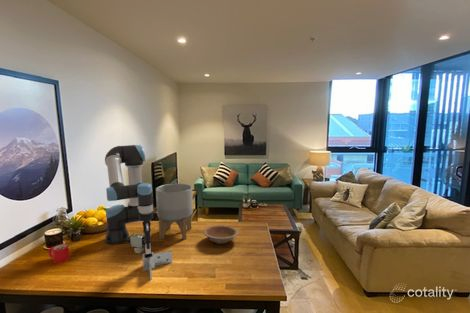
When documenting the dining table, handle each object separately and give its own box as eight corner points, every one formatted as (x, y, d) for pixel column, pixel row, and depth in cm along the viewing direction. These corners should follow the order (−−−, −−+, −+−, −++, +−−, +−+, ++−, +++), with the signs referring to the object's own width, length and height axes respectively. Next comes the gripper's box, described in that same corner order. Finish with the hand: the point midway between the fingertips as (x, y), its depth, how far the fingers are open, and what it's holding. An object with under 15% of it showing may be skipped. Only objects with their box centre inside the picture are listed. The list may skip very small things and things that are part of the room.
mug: (53, 255, 160) (52, 243, 159) (72, 256, 159) (71, 243, 158) (43, 262, 152) (42, 249, 151) (63, 263, 151) (61, 250, 150)
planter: (181, 223, 207) (180, 181, 201) (200, 234, 188) (199, 188, 183) (152, 233, 190) (149, 187, 185) (168, 245, 172) (166, 195, 167)
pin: (144, 257, 147) (142, 228, 145) (151, 255, 149) (150, 227, 146) (144, 260, 144) (143, 231, 141) (152, 259, 145) (151, 230, 143)
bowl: (245, 243, 174) (245, 232, 173) (214, 253, 161) (214, 241, 160) (226, 230, 194) (226, 220, 192) (197, 239, 180) (197, 228, 179)
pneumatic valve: (145, 254, 160) (144, 236, 158) (128, 253, 162) (127, 234, 160) (150, 250, 165) (149, 232, 163) (133, 248, 168) (132, 231, 166)
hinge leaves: (143, 265, 149) (142, 253, 147) (171, 259, 155) (170, 248, 154) (145, 281, 134) (144, 268, 133) (176, 274, 140) (175, 262, 139)
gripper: (137, 208, 148) (140, 246, 151) (139, 218, 134) (141, 260, 137) (151, 206, 151) (153, 244, 154) (154, 215, 136) (156, 257, 140)
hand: (148, 252), depth 146 cm, fingers closed on pin, 3 cm apart
